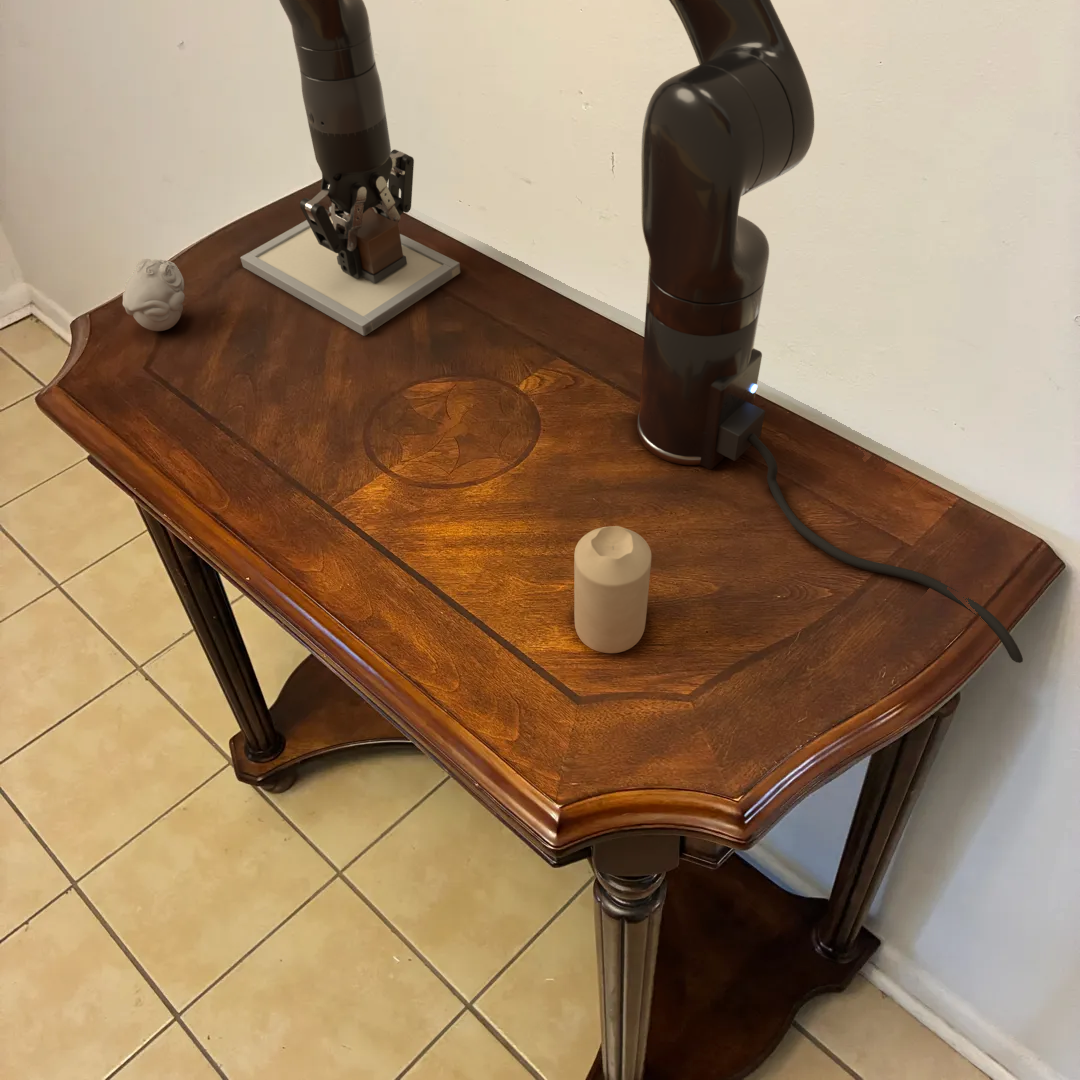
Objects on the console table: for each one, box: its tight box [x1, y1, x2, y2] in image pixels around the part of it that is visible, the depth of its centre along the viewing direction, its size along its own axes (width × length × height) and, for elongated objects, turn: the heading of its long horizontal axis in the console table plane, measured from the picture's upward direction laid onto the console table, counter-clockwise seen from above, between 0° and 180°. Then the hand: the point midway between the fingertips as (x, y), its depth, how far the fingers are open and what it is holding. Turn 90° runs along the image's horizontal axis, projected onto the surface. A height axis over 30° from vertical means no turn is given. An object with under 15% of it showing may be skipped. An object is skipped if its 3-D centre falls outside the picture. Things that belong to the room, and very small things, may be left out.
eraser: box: [337, 208, 407, 284], centre depth 106 cm, size 6×5×5 cm
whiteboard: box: [240, 206, 461, 337], centre depth 109 cm, size 20×14×1 cm
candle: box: [573, 525, 652, 654], centre depth 73 cm, size 6×6×10 cm
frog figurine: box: [122, 258, 186, 332], centre depth 102 cm, size 6×7×7 cm
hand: (372, 263), depth 108 cm, fingers closed on eraser, 4 cm apart
